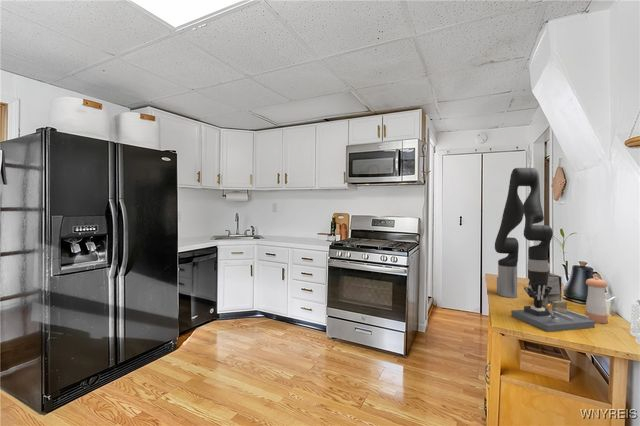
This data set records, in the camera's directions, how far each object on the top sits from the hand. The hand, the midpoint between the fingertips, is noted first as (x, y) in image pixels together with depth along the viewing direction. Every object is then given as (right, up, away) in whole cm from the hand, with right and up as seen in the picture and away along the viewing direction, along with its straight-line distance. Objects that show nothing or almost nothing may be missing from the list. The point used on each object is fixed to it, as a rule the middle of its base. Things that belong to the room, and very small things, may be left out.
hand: (537, 307), depth 132 cm
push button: (0, -3, 0) cm, 3 cm away
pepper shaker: (+24, -5, -3) cm, 25 cm away
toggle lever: (-1, -1, -10) cm, 10 cm away
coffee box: (+18, -5, +17) cm, 25 cm away
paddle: (+10, -2, 0) cm, 10 cm away
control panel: (+3, -5, -3) cm, 7 cm away
